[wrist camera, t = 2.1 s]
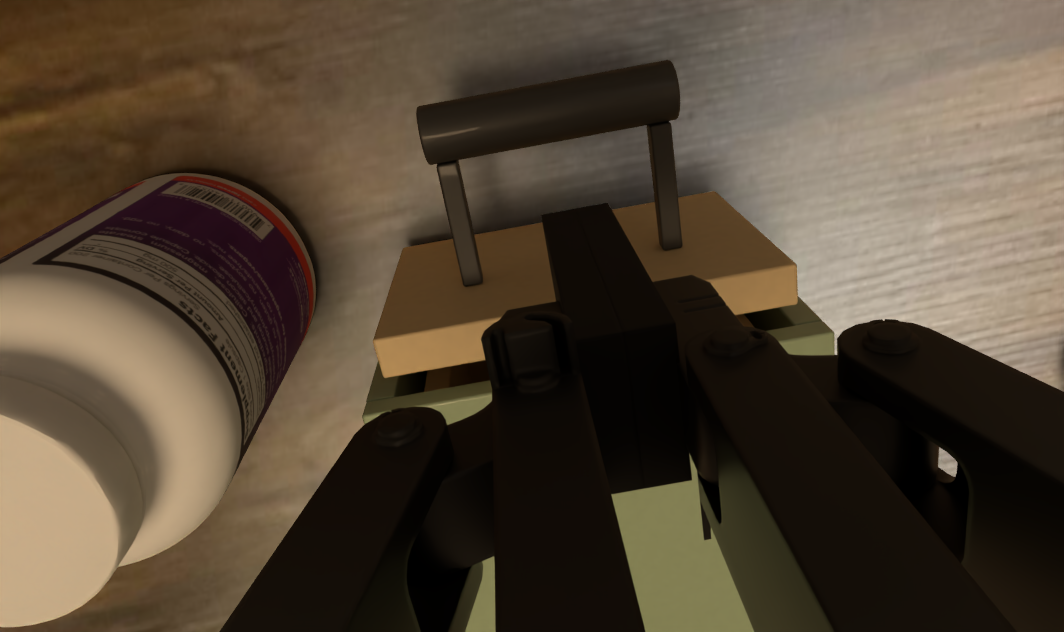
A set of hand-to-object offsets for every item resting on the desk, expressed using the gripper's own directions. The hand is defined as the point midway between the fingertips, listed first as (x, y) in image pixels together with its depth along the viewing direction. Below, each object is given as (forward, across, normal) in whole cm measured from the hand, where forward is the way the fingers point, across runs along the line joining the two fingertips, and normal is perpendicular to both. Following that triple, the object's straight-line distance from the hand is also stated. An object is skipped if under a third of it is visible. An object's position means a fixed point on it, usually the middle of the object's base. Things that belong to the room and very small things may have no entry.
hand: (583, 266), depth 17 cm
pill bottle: (+11, -13, -2) cm, 17 cm away
